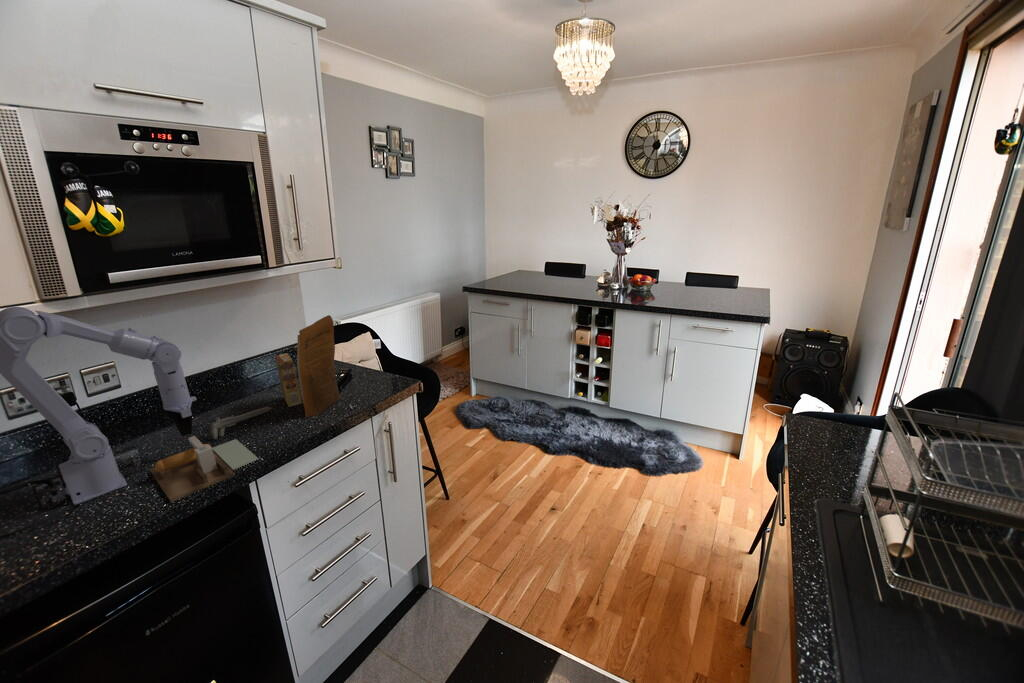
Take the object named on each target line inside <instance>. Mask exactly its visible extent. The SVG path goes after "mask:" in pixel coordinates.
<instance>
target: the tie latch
mask: <svg viewBox="0 0 1024 683" xmlns="http://www.w3.org/2000/svg"><path fill="white" fill-rule="evenodd" d="M187 439H188V441H189V444H190V445H191V446H192V448H195V450H194V451H195V455H196V458H197V462H198V465H199V467H200V469H201V470H202V471H203V472H204V473H205V474H206V473H208V472H210V471H213V470H215V469H218V468H217V465H216V461H215V457H214V454H213V452H214V451H213V450H212V448H213V447H212V446H211V445H210V444H209V445H210V446H211V447H212V448H211V447H210V446H209V445H206V446H204V445H203V443H202V441H200V440H199V438H197V437H196V436H195V435H193V436H191V437H188V438H187Z"/></svg>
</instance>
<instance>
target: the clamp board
mask: <svg viewBox="0 0 1024 683" xmlns="http://www.w3.org/2000/svg"><path fill="white" fill-rule="evenodd" d="M213 454H214V457H215V461H216V465H217V468H218V469H215V470H213V471H210V472H208V473H206V474H205V473H204V472H203V471H202V470H201V469H200V467H199V465H198V462H197V460H194V461H192V462H189V463H186V464H184V465H181V466H178V467H176V468H173V469H168V470H165V471H162V472H158V471H157V470H156V469H155V466H154V467H152V468H149V472H150V473H151V475H152V476H153V478H154V479H155V481H156V482H157V484H158V486H160V488H161V490H162V491H163V493H164V494H165V495H166V498H167V499H168V500H169V502H170V503H173V502H175V501H177V500H179V499H182V498H185V497H187V496H189V495H192V494H194V493H196V492H199V491H201V490H203V489H206V488H208V487H210V485H211V486H213V485H216V484H217V483H220V482H222V481H225V480H227V479H229V478H232V477H234V476H235V472H234V471H233V470H232V469H231V468H230V467H229V466H228V465H227V464H226V463H225V462H224V461H223V460H222V459H221V458H220V457H219V456H218V455H217V454H216V453H215V452H214V451H213Z"/></svg>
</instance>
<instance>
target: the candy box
mask: <svg viewBox="0 0 1024 683" xmlns="http://www.w3.org/2000/svg"><path fill="white" fill-rule="evenodd" d="M274 362H275V365H276V369H277V372H278V379H279V381H280V386H281V387H280V388H281V391H282V395H283V398H284V401H285V402H286V404H287V406H288V407H289V408H290V407H294V406H298V405H301V404H302V403H303V402H302V398H301V397H302V396H301V394H300V389H299V384H298V378H297V373H296V371H295V365H294V360H293V359H292V357H291V356H290V355H289V354H288V353H287V352H286V353H282V354H276V355H274Z"/></svg>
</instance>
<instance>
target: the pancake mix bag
mask: <svg viewBox="0 0 1024 683" xmlns="http://www.w3.org/2000/svg"><path fill="white" fill-rule="evenodd" d="M333 320H334V319H333V318H332V316H331V315H325V316H324V317H322V318H320V319H318V320H316V321H315V322H314V323H312V324H310V325H308V326H306V327H304V328H302V329H300V330H298V334H297V343H296V344H297V346H296V347H297V351H296V352H297V354H296V355H297V356H296V358H297V370H298V379H299V385H300V389H301V397H302V398H301V399H302V401H303V402H302V403H303V407H304V411H305V412H304V414H305V418H309V417H314V416H318V415H320V414H322V413H323V412H325V411H326V410H327V409H329V408H330V407H332V406H333V405H334V404H336V403H338V402H339V401H341V394H340V392H339V387H338V386H339V385H338V382H337V374H336V367H335V365H336V364H335V356H336V355H335V354H336V345H335V344H336V343H335V326H334V321H333Z"/></svg>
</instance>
